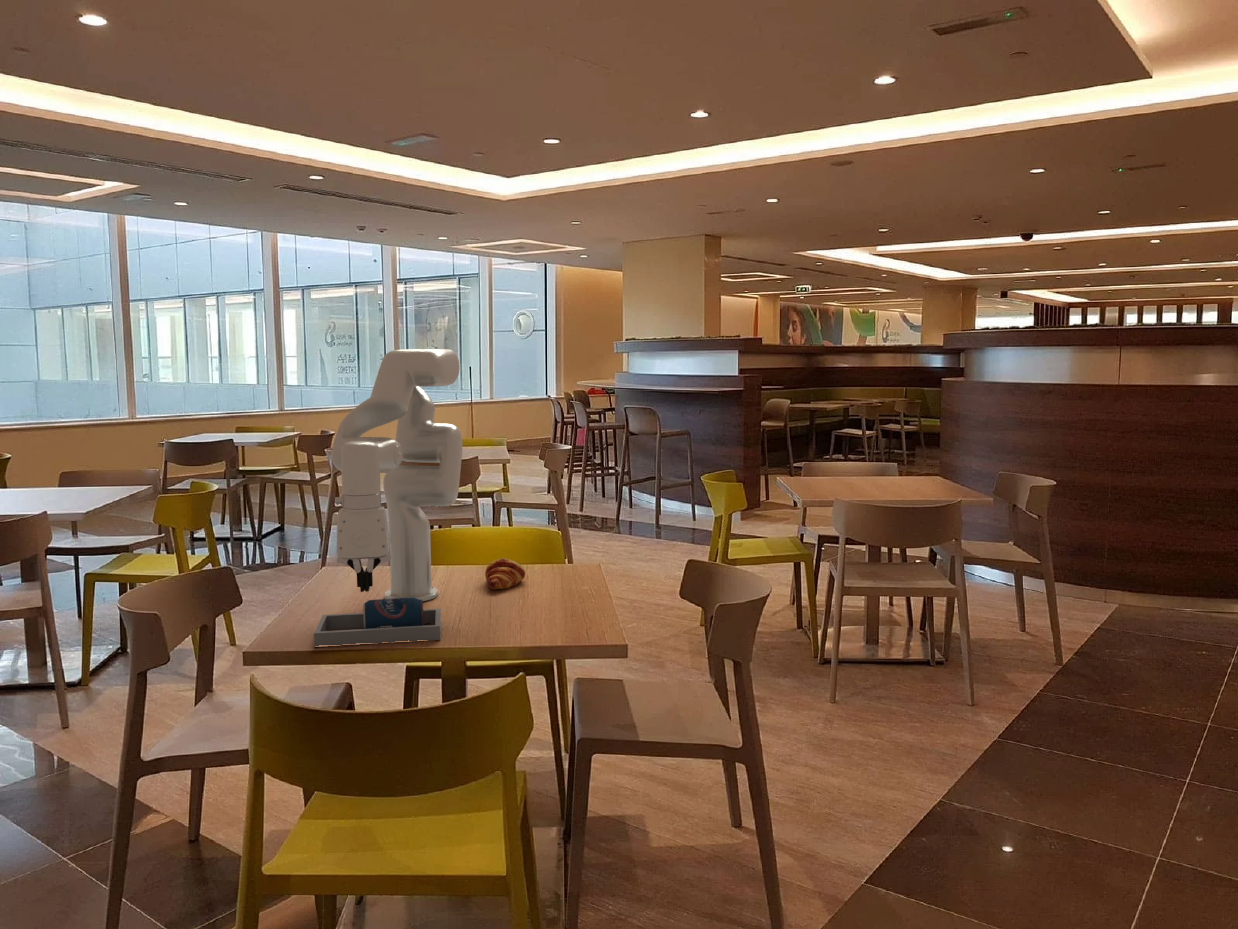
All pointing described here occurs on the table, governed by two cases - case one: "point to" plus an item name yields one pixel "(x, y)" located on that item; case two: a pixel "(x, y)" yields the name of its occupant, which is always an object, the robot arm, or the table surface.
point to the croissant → (503, 574)
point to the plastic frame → (373, 630)
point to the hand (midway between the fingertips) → (365, 590)
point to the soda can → (393, 613)
